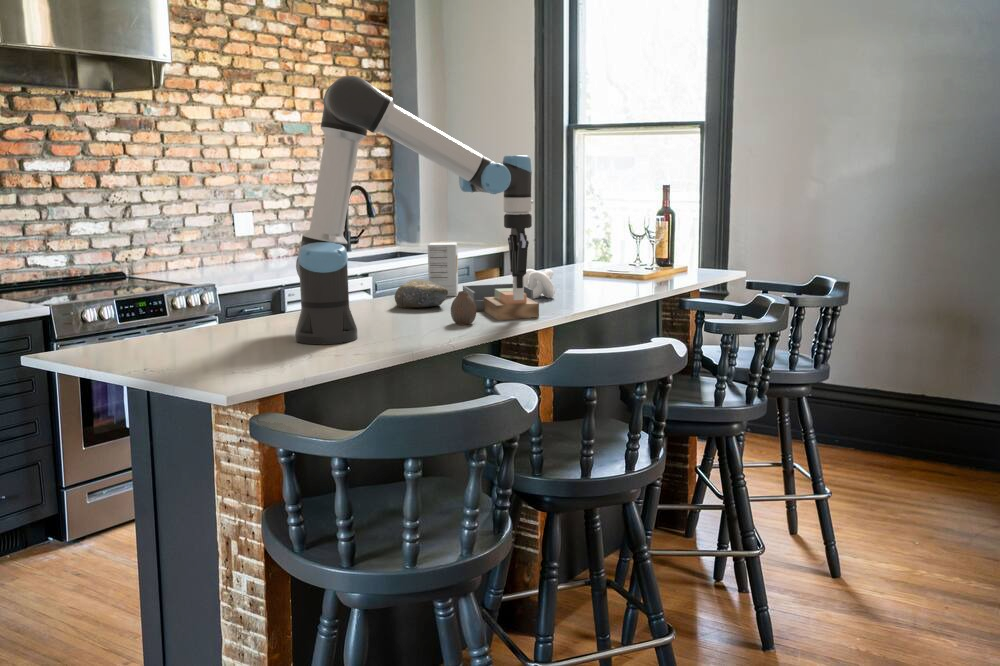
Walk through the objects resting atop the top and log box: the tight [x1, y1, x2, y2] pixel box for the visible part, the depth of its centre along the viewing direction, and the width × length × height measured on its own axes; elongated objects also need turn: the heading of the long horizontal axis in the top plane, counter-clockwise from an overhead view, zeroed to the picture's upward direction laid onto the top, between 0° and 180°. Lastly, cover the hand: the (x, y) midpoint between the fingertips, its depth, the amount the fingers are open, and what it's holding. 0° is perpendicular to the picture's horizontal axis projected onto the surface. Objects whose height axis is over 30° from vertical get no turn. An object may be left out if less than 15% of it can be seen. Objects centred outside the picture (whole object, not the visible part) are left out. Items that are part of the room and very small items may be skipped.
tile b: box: [495, 288, 513, 300], centre depth 263 cm, size 6×6×2 cm
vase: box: [450, 290, 477, 326], centre depth 245 cm, size 7×7×9 cm
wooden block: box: [484, 297, 540, 321], centre depth 260 cm, size 12×16×4 cm
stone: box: [394, 278, 448, 309], centre depth 275 cm, size 14×19×8 cm
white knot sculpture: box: [524, 268, 556, 300], centre depth 290 cm, size 11×12×9 cm
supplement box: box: [427, 241, 459, 297], centre depth 299 cm, size 10×9×17 cm
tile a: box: [500, 292, 527, 304], centre depth 256 cm, size 6×6×2 cm
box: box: [462, 283, 534, 312], centre depth 275 cm, size 18×15×6 cm
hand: (518, 299), depth 251 cm, fingers closed
